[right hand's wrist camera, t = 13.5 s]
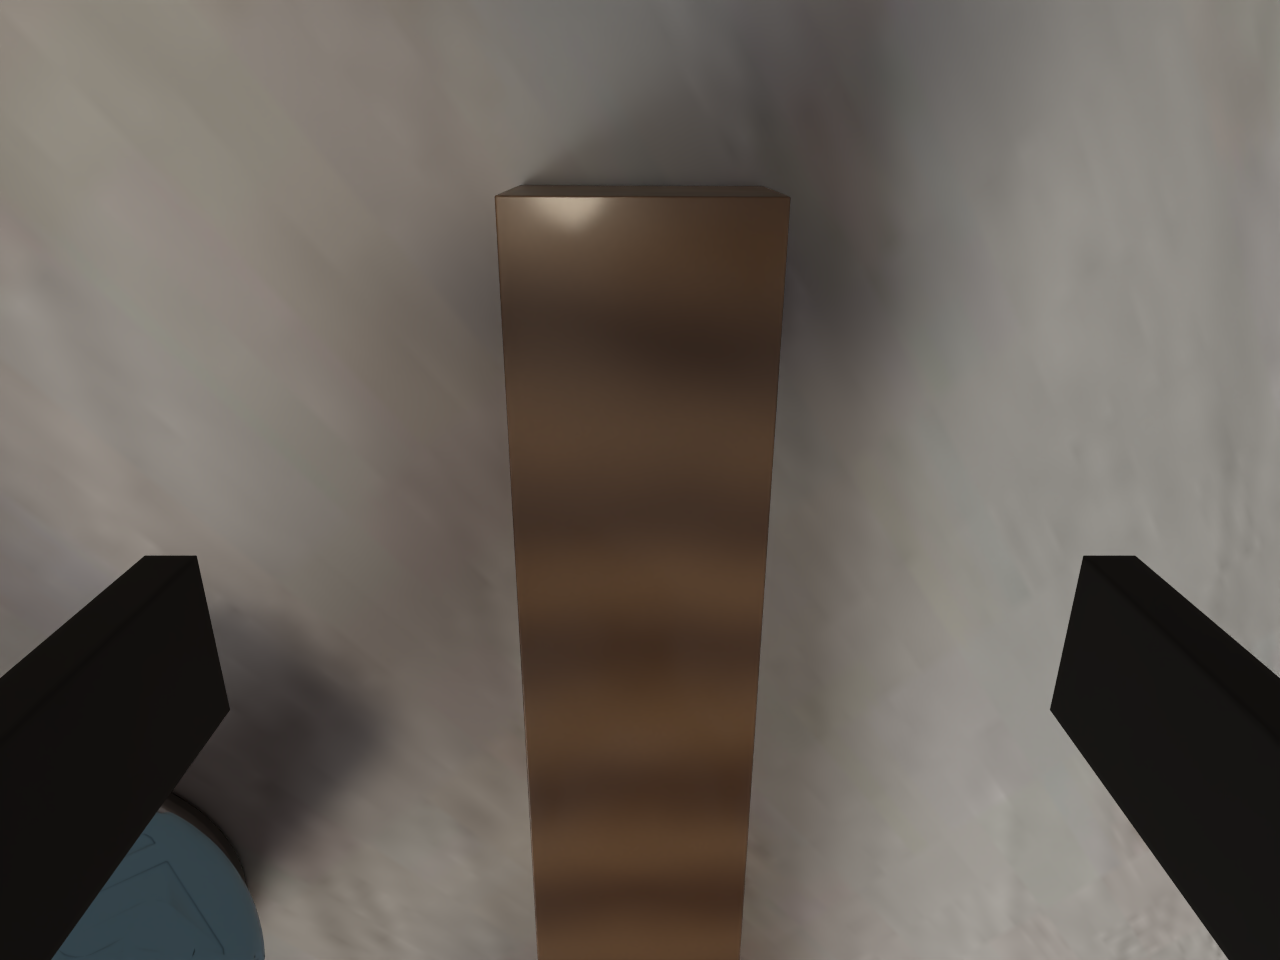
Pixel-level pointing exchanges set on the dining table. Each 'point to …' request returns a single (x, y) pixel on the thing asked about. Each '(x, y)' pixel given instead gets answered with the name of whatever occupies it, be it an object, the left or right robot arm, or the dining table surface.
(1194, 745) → the right robot arm
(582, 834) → the thick board
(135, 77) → the dining table surface
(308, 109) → the dining table surface
